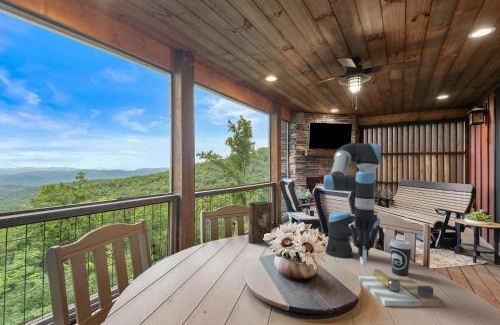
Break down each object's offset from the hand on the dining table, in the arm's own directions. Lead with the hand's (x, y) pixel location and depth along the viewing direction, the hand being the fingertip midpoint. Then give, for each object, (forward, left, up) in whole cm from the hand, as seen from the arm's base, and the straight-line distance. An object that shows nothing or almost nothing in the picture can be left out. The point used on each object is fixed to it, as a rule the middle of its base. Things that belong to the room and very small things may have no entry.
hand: (363, 264), depth 109 cm
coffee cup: (-12, +24, -9) cm, 29 cm away
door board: (+6, +11, -9) cm, 16 cm away
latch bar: (+3, +8, -6) cm, 11 cm away
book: (-60, -39, -9) cm, 72 cm away
